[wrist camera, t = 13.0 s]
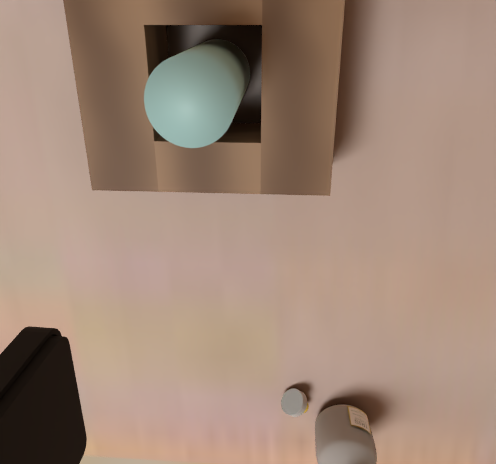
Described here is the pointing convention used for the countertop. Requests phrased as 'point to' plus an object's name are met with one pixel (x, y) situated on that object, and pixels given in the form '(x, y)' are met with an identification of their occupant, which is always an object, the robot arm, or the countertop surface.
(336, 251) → the countertop surface
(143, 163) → the socket block
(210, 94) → the peg
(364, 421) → the reed diffuser
